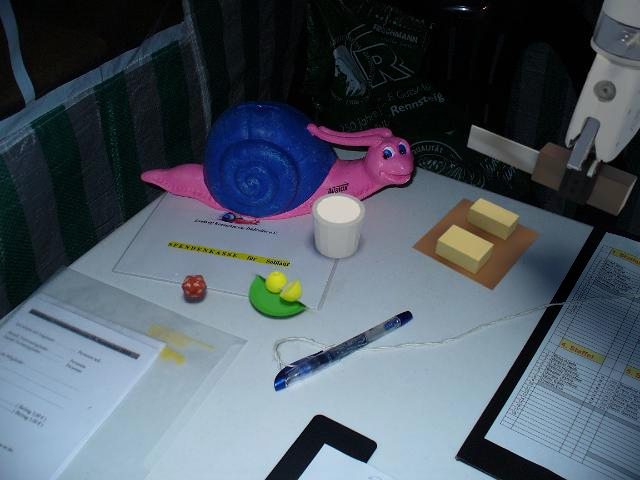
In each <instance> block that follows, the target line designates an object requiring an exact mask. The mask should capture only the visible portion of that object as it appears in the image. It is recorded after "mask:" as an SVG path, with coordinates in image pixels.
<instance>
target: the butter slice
mask: <svg viewBox="0 0 640 480" xmlns="http://www.w3.org/2000/svg"><path fill="white" fill-rule="evenodd" d="M474 203H475V204H474V205H473V206H472V207H471V208H470V210H469V214H468V218H467V222H469V223H471V224H473V225H475V226H477V227H479V228H481V229H483V230H485V231H487V232H489V233H491V234H493V235H495V236H497V237H500V238H502V239H504V240H506V239H507V238H508V237H509V236H510V235H511V234H512V232H513V231H514V230H515V229H516V225H517V223H519V219H520V215H518V214H517V213H514V212H512V211H510V210H509V209H505V208H503V207H502V206H499V205H497V204H495V203H492V202H490V201H489V200H486V199H484V198H481V197H480V198H479V199H478V200H477V201H476V202H474Z"/></svg>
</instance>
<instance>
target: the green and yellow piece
mask: <svg viewBox="0 0 640 480" xmlns="http://www.w3.org/2000/svg"><path fill="white" fill-rule="evenodd" d="M283 287H284V288H283ZM282 288H283V289H282ZM248 289H249V290H248V291H249V292H248V295H249V296H248V297H249V300H250V302H251V304H252V305H253V306H254V307H255V308H256V309H257V310H258V311H260V312H262V313H263V314H266V315H270V316H274V317H275V316H276V317H287V316H292V315H294V314H297V313H299V312H302V311H303V310H304V309H305V308H307V307H308V306H307V305H306V304H304V303H303V302H301V301H300V300H299V299H300V298H301V296H302V293H303V290H302V289H303V288H302V285H301V283H300V282H299V280H298V279H294V280H292V281H291V282H289V283H288V278H287V276H286V274H284V272H281V271H279V270H276V271H272V272H270V273H269V274H268V275H267V277H266V278H265V277H263V276H261V275H260V274H259V275H257V276H256V277H255V278H254V279H253V281H252V282H251V284H250V285H249V288H248Z"/></svg>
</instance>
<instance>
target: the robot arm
mask: <svg viewBox="0 0 640 480" xmlns="http://www.w3.org/2000/svg"><path fill="white" fill-rule="evenodd" d="M602 3H603V4H602V7H601V10H600V13H599V16H598V19H597V21H596V24H595V28H594V31H593V33H592V36H591V40H590V46H591V48H592V49H593V51H595V53H596V55H595V58H594V60H593V62H592V65H591V67H590V70H589V72H588V73H587V77H586V80H585V83H584V85H583V87H582V90H581V93H580V95H579V97H578V99H577V103H576V105H575V107H574V108H575V109H574V110H573V113H572V117H571V119H570V123H569V126H568V129H567V131H566V136H565V140H564V143H565V146H566V147H567V149H570V148H572V147H573V149H572V150H571V151H572V154H571V157H570V159H569V161H568V164H567V167H566V170H565V172H564V175H563V178H562V181H561V184H560V186H559V189H558V191H557V195H558V196H559V197H562V198H564V199H566V200H569V201H571V202H573V203H575V204H578V205H580V206H585V205H586V204H587V203H586V202H587V200H588V198H589V195H590V193H591V191H592V188H593V186H594V183H595V181H596V178H597V176H598V175H597V174H595V172H596V170H597V168H598V165H599V163H600V162H601V163H604V164H606V165H609V163H610V162H611V161H613V160H614V159H615V158H617V156H618V155H619V154H620V153H621V152H622V151H623V150H624V149H625V147H626V146H627V145H628V144H629V143H630V142H631V140H632V139H633V138H634V137H635V135H636V134H637V133H638V131H639V129H640V0H604V1H603V2H602ZM587 157H588V158H591V159H593V161H592V163H591V160H590V159H587Z"/></svg>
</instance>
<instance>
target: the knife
mask: <svg viewBox="0 0 640 480" xmlns="http://www.w3.org/2000/svg"><path fill="white" fill-rule="evenodd" d="M466 146H467V148H469V149H472V150H474V151H476V152H478V153H481V154H483V155H486V156H488V157H490V158H493V159H495V160H498V161H500V162H502V163H504V164H507V165H509V166H512V167H514V168H516V169H519V170H521V171H523V172H525V173H528V174H530V175H531V177H530V180H531V181H534V182H536V183H538V184H541V185H543V186H545V187H548V188H550V189H553V190H554V191H557V192H558V189H559V186H560V184H561V181H562V178H563V175H564V172H565V170H566V167H567V164H568V161H569V159H570V157H571V154H572V151H573V150H570V149H569V148H565V147H563V146H560V145H558V144H555V143H553V142H547V143H546V144H545V145H544V146H543V147H542V148H541V149H540V150H537V149H533V148H531V147H529V146H526V145H523V144H521V143H519V142H516V141H514V140H512V139H509V138H506V137H504V136H501V135H499V134H496V133H494V132H491V131H489V130H486V129H484V128H482V127H478V126H477V125H474V124H472V125H471V127H470V131H469V136H468V141H467V145H466ZM587 159H590V160H591V163H592V161H593V159H591V158H588V157H587ZM595 174H597V175H598V176H597V178H596V181H595V183H594V186H593V188H592V191H591V193H590V195H589V198H588V200H587V202H586V203H585V204H587V205H589V206H592V207H595V208H596V209H599V210H601V211H603V212H605V213H608V214H611V215H613V216H618V215H619V213H620V212H621V210H623V208H624V207H625V205H626V202H627V200H628V198H629V196H630V194H631V192H632V190H633V187H634V186H635V183H636V181H637V180H638V176H636V175H634V174H631V173H629V172H626V171H624V170H621V169H619V168H616V167H614V166H611V165H609V164H608V165H606V164H604V163H601V162H600V163H599V165H598V168H597V170H596V172H595Z"/></svg>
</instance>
